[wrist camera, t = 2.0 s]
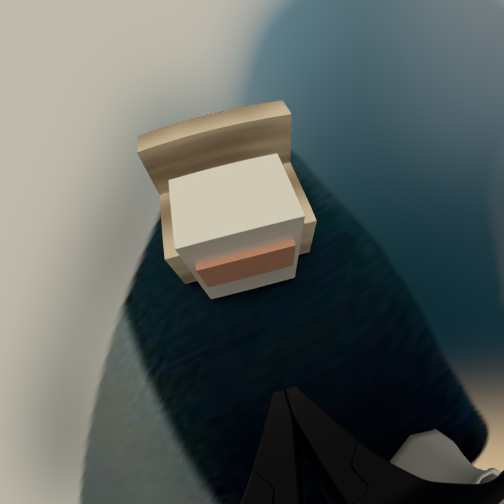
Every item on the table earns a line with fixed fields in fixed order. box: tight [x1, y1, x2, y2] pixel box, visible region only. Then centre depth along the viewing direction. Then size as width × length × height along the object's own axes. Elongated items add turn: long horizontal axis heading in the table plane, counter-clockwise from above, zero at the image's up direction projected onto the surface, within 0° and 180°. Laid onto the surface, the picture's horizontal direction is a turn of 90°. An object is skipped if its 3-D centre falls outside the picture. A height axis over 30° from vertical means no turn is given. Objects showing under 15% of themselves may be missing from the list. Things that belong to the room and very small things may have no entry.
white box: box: [169, 153, 305, 299], centre depth 19 cm, size 5×7×9 cm
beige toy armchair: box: [137, 101, 317, 284], centre depth 21 cm, size 8×11×11 cm
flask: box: [389, 429, 501, 484], centre depth 10 cm, size 7×7×10 cm
